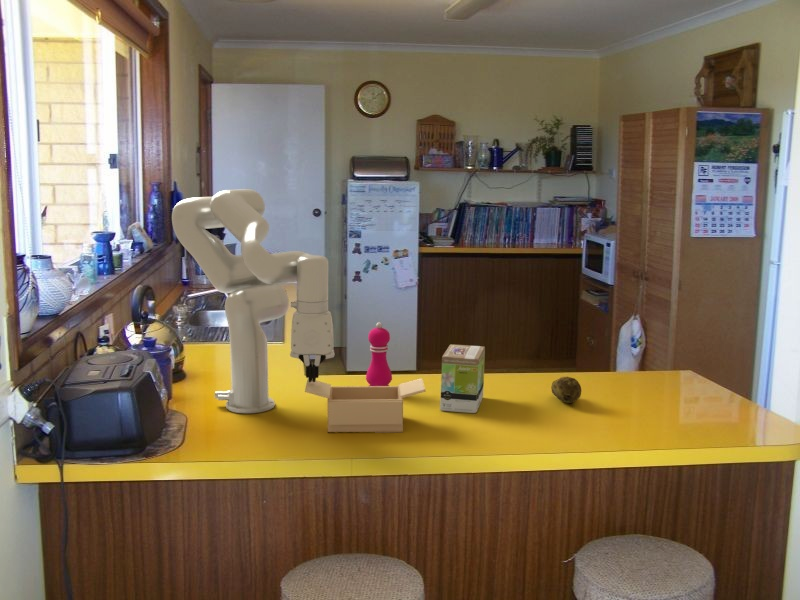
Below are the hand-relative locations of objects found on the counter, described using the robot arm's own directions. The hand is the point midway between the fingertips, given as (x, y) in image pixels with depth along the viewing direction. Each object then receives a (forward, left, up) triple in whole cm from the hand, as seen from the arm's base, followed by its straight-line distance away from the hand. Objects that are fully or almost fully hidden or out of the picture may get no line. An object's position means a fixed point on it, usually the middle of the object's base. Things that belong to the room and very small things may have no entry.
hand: (312, 380), depth 206 cm
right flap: (+22, 0, -3) cm, 22 cm away
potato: (+67, +16, -12) cm, 70 cm away
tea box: (+39, +16, -12) cm, 44 cm away
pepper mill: (+17, +27, -12) cm, 34 cm away
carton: (+13, 0, -11) cm, 17 cm away
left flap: (+4, 0, -3) cm, 5 cm away
